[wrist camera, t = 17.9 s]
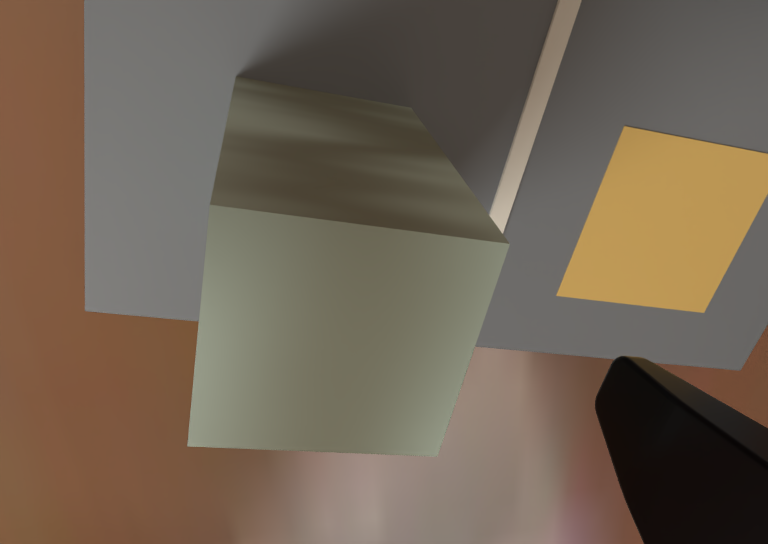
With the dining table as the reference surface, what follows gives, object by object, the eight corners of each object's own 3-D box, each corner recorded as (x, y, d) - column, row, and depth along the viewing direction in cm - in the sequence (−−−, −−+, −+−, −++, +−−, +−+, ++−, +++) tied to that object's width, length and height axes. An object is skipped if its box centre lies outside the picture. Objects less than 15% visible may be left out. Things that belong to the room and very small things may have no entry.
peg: (411, 107, 15) (510, 244, 9) (375, 258, 16) (437, 457, 10) (235, 76, 14) (209, 204, 8) (218, 239, 16) (187, 445, 10)
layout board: (1066, -269, 14) (1135, -286, 13) (717, 348, 22) (742, 372, 21) (103, -708, 9) (81, -793, 8) (95, 286, 17) (84, 312, 16)
